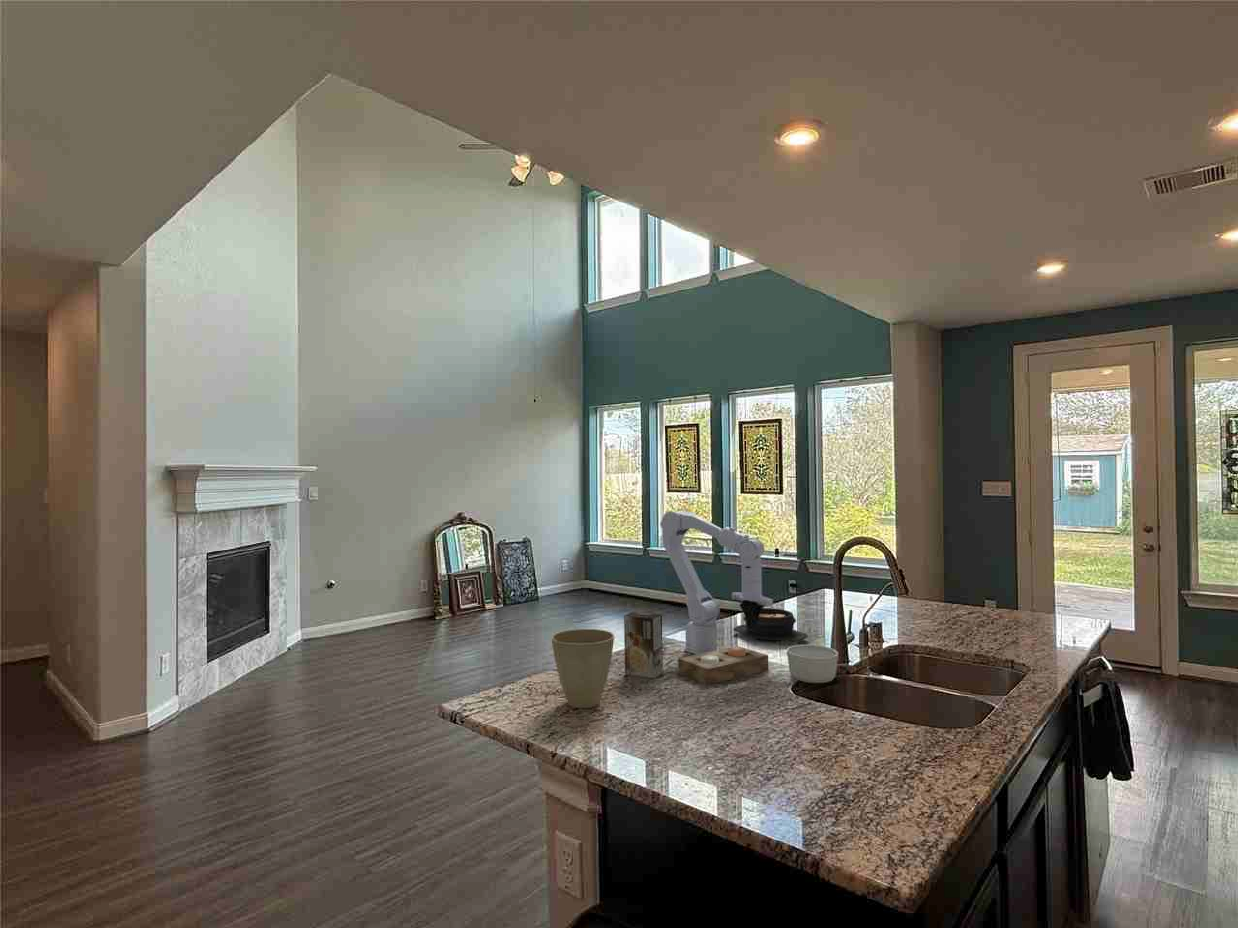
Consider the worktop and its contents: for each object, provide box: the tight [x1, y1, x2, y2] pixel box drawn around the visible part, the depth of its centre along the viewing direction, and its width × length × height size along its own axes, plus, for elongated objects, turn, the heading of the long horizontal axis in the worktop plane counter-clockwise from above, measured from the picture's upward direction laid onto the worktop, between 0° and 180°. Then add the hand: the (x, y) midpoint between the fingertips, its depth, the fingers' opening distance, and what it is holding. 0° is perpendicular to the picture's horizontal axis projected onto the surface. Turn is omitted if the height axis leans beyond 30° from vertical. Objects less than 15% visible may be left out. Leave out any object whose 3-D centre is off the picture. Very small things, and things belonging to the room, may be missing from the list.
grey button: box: [701, 655, 719, 664], centre depth 176 cm, size 5×5×4 cm
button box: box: [677, 645, 769, 685], centre depth 178 cm, size 12×22×4 cm, turn 124°
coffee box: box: [623, 610, 664, 680], centre depth 177 cm, size 9×6×16 cm
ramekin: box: [786, 644, 839, 684], centre depth 173 cm, size 13×13×7 cm
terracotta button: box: [727, 646, 747, 658], centre depth 181 cm, size 5×5×4 cm
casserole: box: [732, 607, 808, 643], centre depth 214 cm, size 25×19×8 cm
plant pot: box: [550, 628, 615, 709], centre depth 155 cm, size 15×15×16 cm
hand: (752, 627), depth 189 cm, fingers closed
